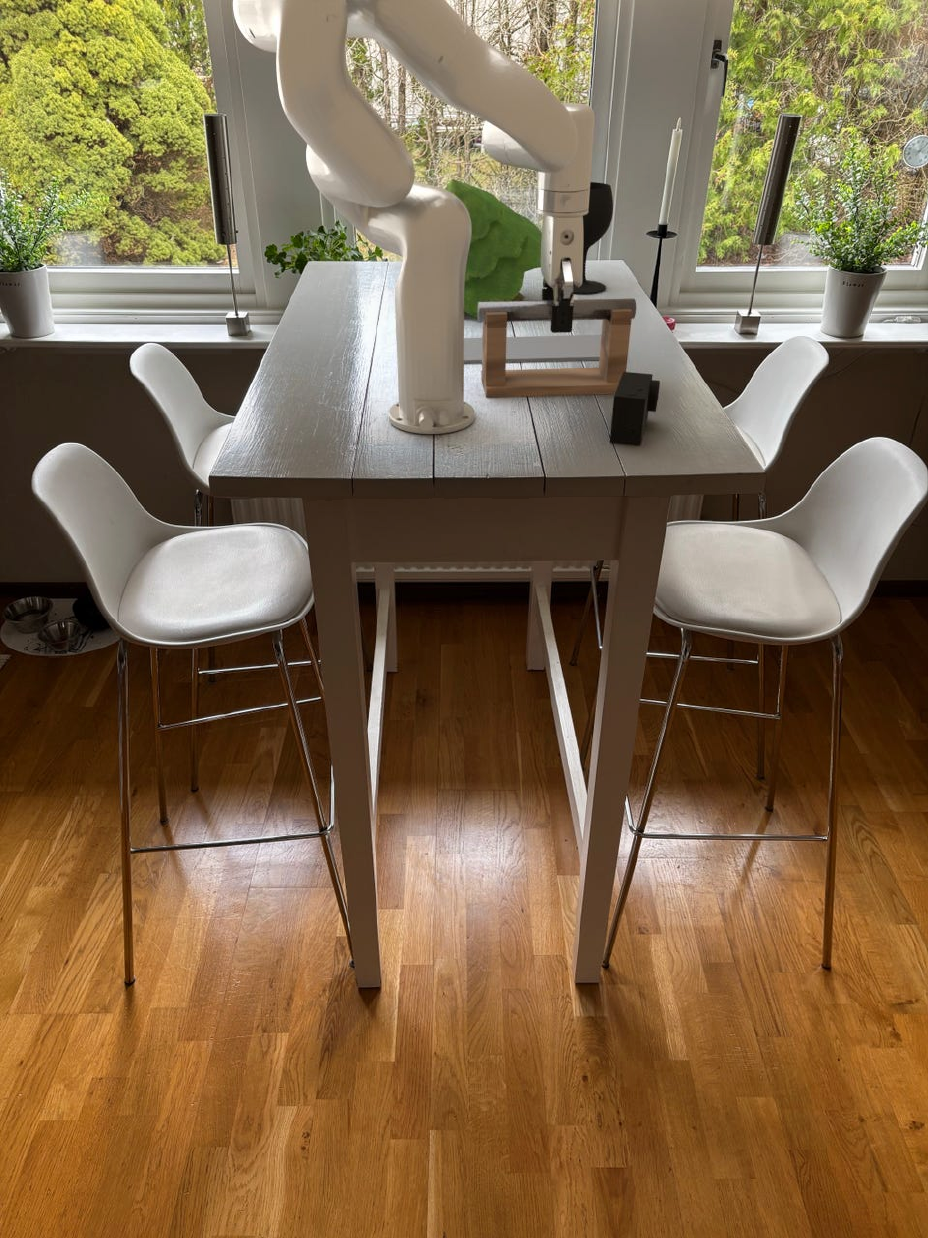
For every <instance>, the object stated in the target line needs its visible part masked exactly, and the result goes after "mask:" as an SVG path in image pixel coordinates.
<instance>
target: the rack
mask: <svg viewBox="0 0 928 1238" xmlns="http://www.w3.org/2000/svg"><path fill="white" fill-rule="evenodd" d="M632 320H633V319H632V310H631V309H611V316H610V319H609V320H602V322H601V323H602V324H601V333H600V335H601V346H600V358H599V360H598V361H599V362H598V367H571V368H536V369H534V368H533V369H528V368H527V369H507V368H506V367H507V363H506V337H507V334H508V333H507V329H508V322H507V313H506V312H486V322H483V323H482V333H481V334H482V337H481V338H482V363H481V372H480V375H481V376H480V381H481V384H482V387H483V390H484V394H485V397H486V398H514V397H516V398H517V397H518V398H519V397H520V398H521V397H545V396H546V397H551V396H552V397H553V396H554V397H555V396H581V395H582V396H583V395H584V396H585V395H615V392H616V390H617V387H618V384H619V382H620V379H621V376H622V374H623V372H627V367H628V357H629V350H630V348H629V347H630V336H631V328H632Z"/></svg>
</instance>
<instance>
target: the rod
mask: <svg viewBox="0 0 928 1238" xmlns="http://www.w3.org/2000/svg"><path fill="white" fill-rule="evenodd" d="M573 300H574V303H573V305H574V308H573V321H597V320H598V321H600V320H601V321H603V320H609V319H610V316H611V309H631V310H632V320H634V319H635V317H636V315H637V300H636V298H629V297H628V298H600V299H599V298H596V299H595V298H592V299H590V298H587V299H573ZM552 305H554V300H542V299H541V300H539V299H538V300H523V301H493V302H478V305H477V316H478V318H477V322H478V323H481V324H483V322H486V312H506V313H507V323H510V322H511V323H518V322H520V323H521V322H524V323H525V322H551V308H552Z"/></svg>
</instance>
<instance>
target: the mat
mask: <svg viewBox="0 0 928 1238" xmlns="http://www.w3.org/2000/svg"><path fill="white" fill-rule="evenodd" d="M600 346H601V334H581V335H580V334H576V335H575V334H574V335H572V334H571V335H537V336H535V335H534V336H506V364H508V362H509V364H510V363H538V362H539V363H540V362H542V363H543V362H547V363H548V362H572V361H573V362H576V361H577V362H579V361H584V362H585V361H599V358H600ZM465 364H469V365H471V364H472V365H473V364H482V337H464V365H465Z"/></svg>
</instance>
